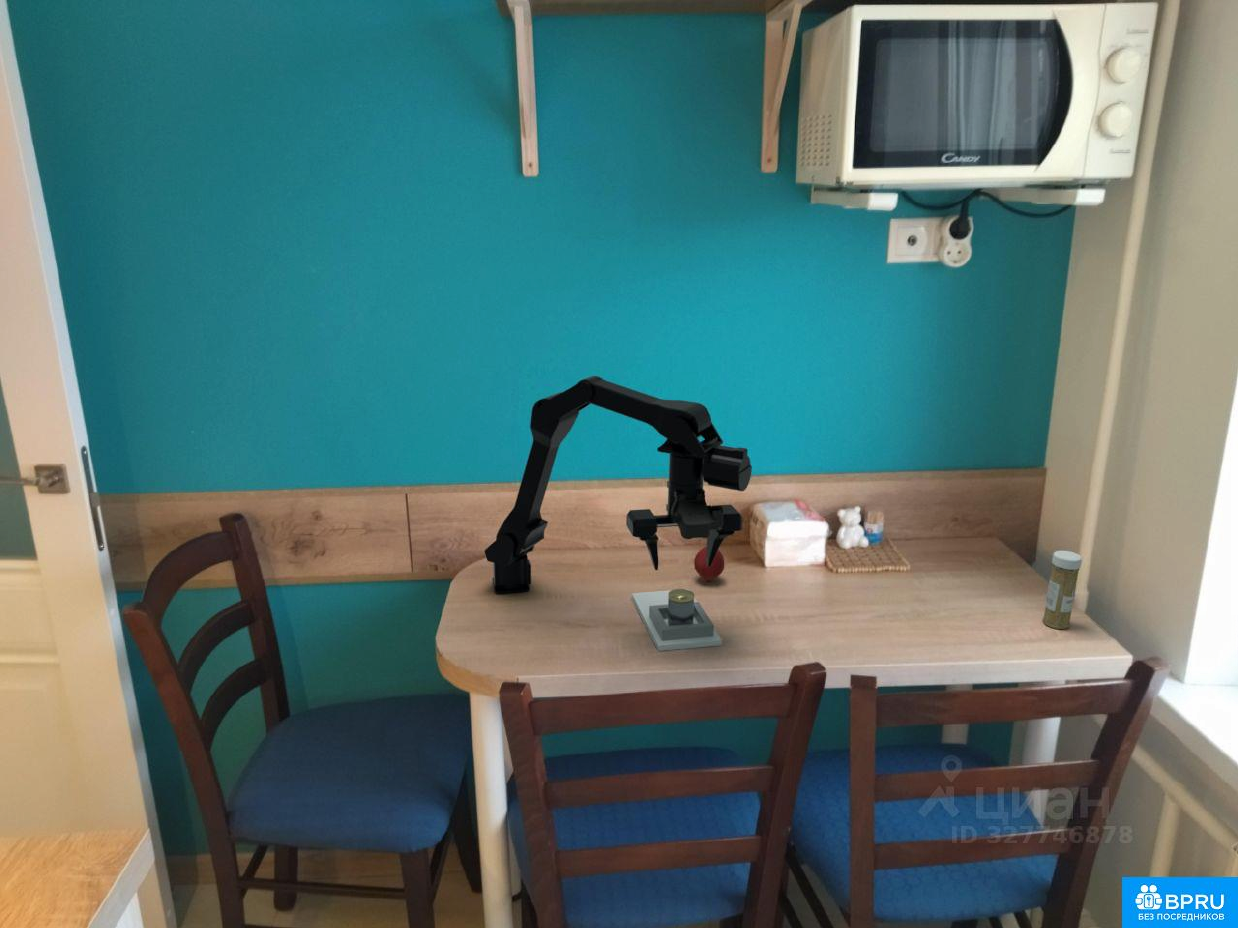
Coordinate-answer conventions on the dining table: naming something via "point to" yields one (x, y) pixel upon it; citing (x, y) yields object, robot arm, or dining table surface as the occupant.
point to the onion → (714, 569)
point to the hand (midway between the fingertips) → (682, 567)
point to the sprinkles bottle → (1061, 589)
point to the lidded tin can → (680, 607)
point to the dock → (677, 636)
